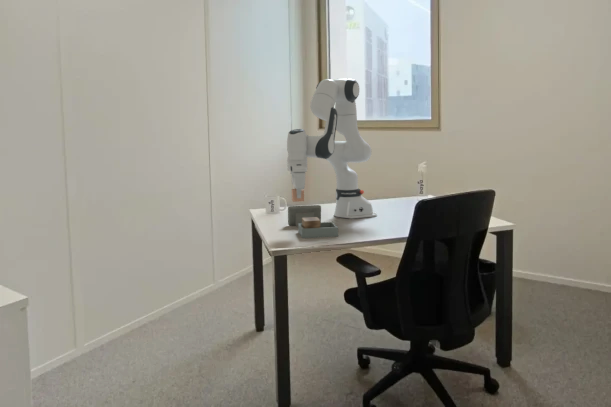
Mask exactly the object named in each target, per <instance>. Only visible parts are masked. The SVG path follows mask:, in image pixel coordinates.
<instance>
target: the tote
mask: <svg viewBox="0 0 611 407" xmlns="http://www.w3.org/2000/svg"><path fill="white" fill-rule="evenodd" d="M297 227H298V228H297V229H298V230H297V231H298V234H299V236H300V237H301V239H312V238H314V239H315V238H330V237H331V238H333V237H339V227H338V225H337V224H336V223H335V222H333V221H326V222H325V221H324V222H322V221H321V222H320V228H305V229H304V228H303V227H302V223H299V224H298V226H297Z"/></svg>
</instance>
